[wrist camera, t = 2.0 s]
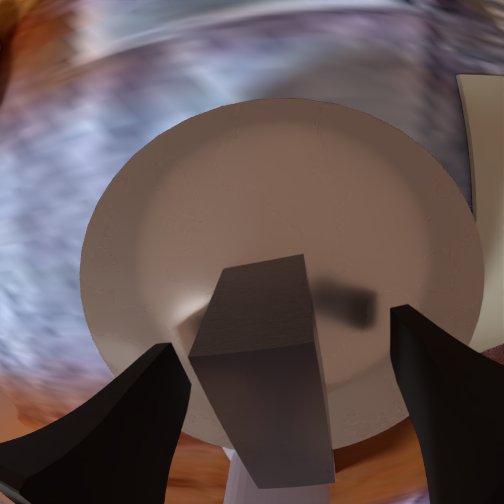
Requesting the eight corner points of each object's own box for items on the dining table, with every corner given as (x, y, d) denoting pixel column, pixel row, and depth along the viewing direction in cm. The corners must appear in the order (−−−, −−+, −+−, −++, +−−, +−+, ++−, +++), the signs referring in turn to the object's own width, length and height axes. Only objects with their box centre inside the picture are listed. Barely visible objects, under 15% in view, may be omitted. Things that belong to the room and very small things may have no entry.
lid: (448, 406, 13) (476, 481, 8) (174, 443, 15) (152, 515, 11) (457, 77, 7) (564, 63, 3) (43, 178, 10) (-57, 218, 5)
